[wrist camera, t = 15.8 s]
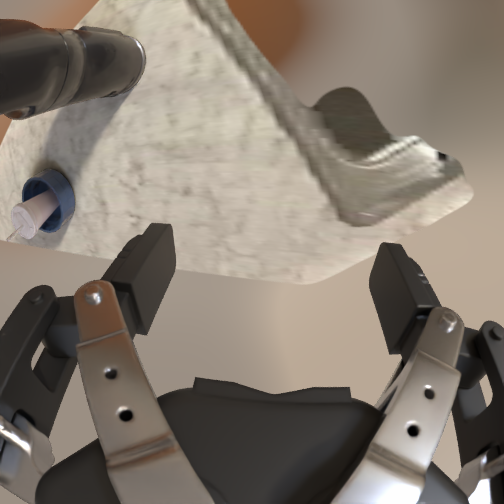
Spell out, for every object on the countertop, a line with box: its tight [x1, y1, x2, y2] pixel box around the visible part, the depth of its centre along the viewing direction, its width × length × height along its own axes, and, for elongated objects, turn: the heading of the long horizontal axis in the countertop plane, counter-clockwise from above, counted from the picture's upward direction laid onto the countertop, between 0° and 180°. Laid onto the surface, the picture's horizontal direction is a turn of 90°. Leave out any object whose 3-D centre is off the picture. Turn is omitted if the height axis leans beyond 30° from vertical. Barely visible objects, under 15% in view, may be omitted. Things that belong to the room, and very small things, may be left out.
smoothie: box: [7, 189, 60, 242], centre depth 38 cm, size 6×6×14 cm
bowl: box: [22, 169, 75, 233], centre depth 42 cm, size 11×11×4 cm
